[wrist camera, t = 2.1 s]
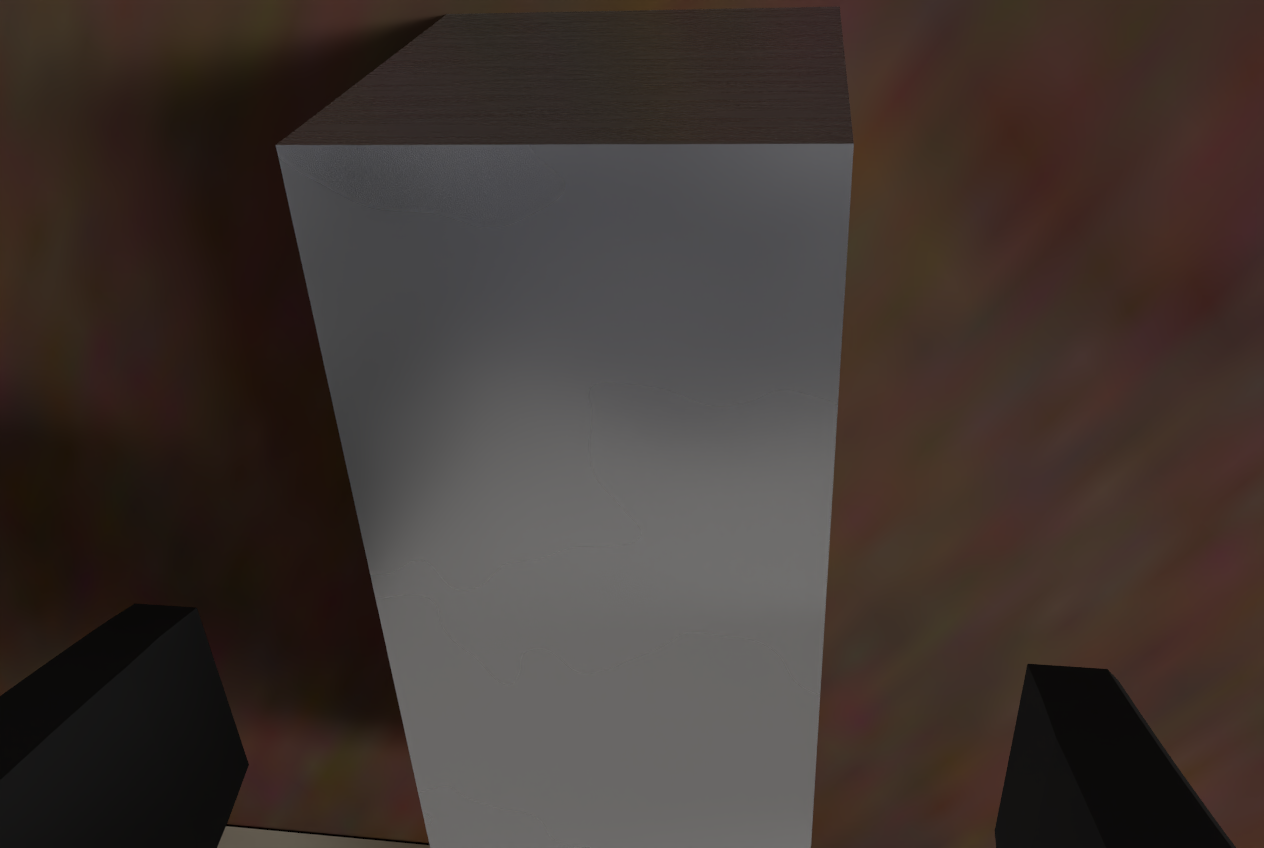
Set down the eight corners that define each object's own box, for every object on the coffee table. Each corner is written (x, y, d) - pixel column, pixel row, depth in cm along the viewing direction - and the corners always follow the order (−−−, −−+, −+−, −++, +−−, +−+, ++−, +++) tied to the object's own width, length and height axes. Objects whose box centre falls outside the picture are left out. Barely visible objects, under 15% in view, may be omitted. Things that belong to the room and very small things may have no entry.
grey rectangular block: (538, 696, 17) (458, 976, 13) (451, 10, 12) (274, 145, 8) (803, 715, 16) (800, 1013, 12) (839, 2, 11) (853, 143, 7)
